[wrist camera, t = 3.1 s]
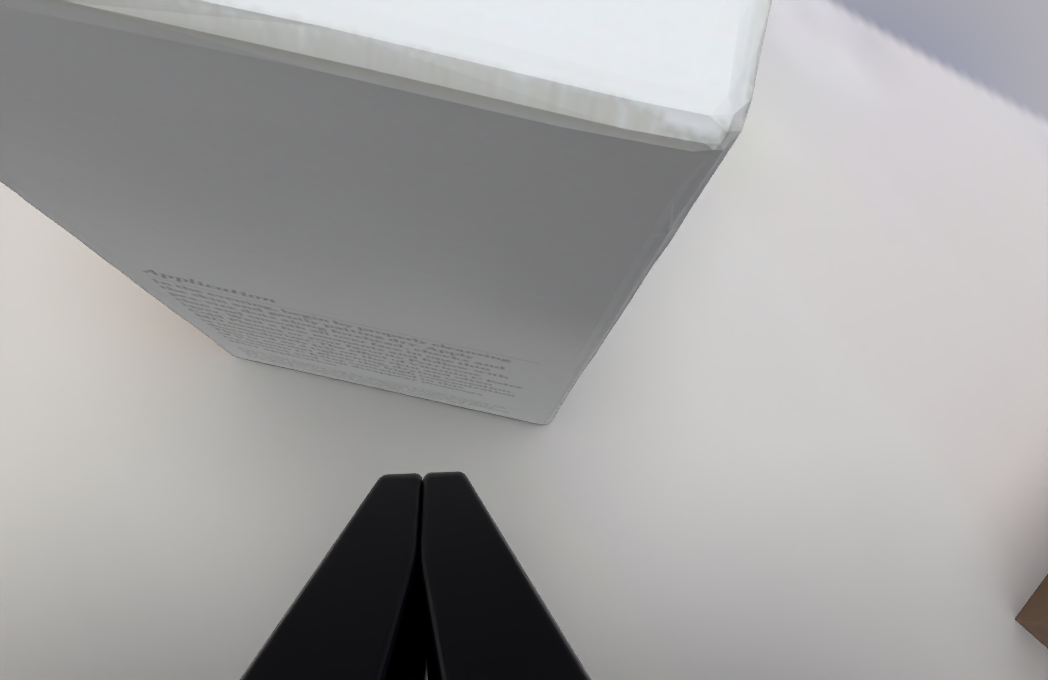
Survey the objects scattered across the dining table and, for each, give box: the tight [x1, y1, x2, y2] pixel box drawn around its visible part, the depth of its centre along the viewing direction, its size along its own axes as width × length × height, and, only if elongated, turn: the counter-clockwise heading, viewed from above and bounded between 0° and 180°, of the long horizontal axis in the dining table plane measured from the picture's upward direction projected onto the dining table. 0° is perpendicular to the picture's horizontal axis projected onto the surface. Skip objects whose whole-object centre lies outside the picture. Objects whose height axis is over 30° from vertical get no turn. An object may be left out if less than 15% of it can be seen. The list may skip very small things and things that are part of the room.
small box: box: [0, 0, 772, 424], centre depth 12 cm, size 8×6×13 cm
